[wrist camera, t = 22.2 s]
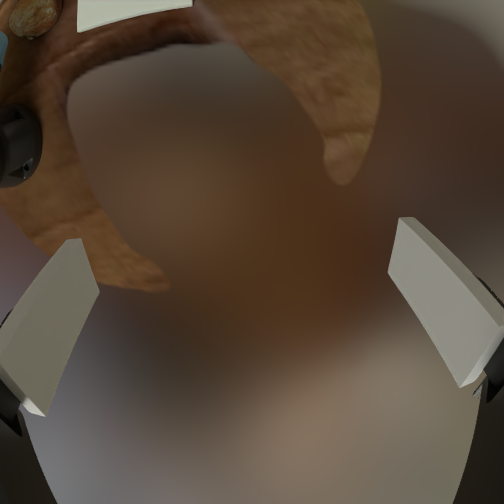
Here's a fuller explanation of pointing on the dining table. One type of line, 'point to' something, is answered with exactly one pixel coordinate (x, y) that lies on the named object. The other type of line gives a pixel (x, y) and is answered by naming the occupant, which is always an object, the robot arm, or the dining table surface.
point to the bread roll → (34, 17)
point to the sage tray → (120, 10)
